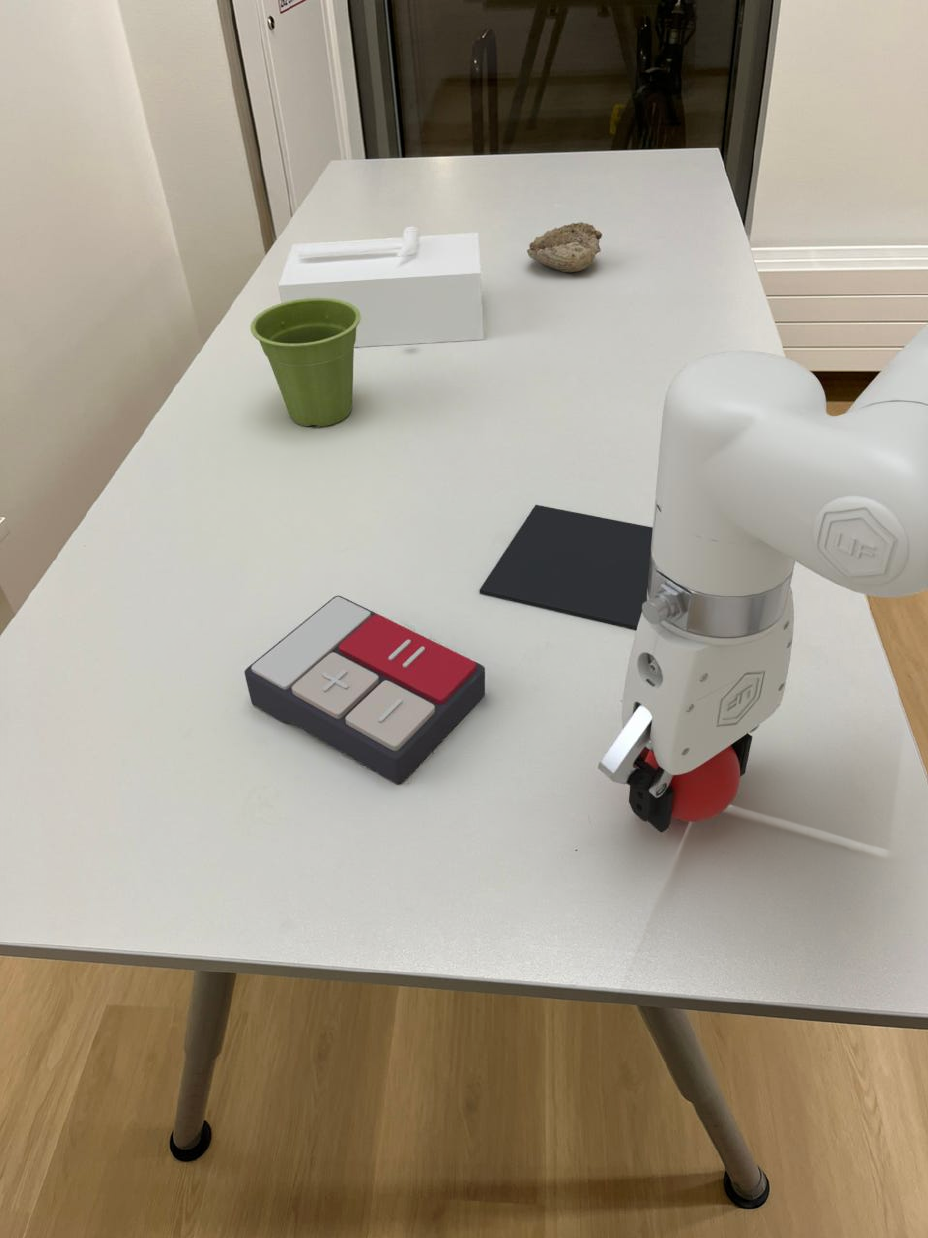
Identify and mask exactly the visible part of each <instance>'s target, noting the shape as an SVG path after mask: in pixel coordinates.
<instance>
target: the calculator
mask: <svg viewBox="0 0 928 1238" xmlns="http://www.w3.org/2000/svg"><path fill="white" fill-rule="evenodd" d="M244 678H245V682H246V684H247V685H246V686H247V689H248V694H249V697H250V703H251V704H252V705H253V706H254V707H255V708H258V709H260V710H261V711H263V712H264V713H266V714H268V715H270V716H271V717H273V718H275V719H277V720H278V721H280V722H282V723H284V724H293V725H295V726H297V727H298V728H300V729H301V730H303V731H305V732H306V733H308V734H310V735H312V736H313V737H315V738H317V739H319V740H320V741H322V742H324V743H325V744H327V745H329V746H331V747H332V748H334V749H336V750H338V752H341V753H343V754H345V755H346V756H348V757H349V758H351V759H353V760H355V761H357V762H358V763H360V764H361V765H363V766H365V767H367V768H368V769H370V770H372V771H374V772H375V773H377V774H379V775H381V776H382V777H384V778H386V779H387V780H389V781H391V782H393V783H394V784H397V785H399V784H402V783H404V782H405V781H407V779H408V778H409V776H411V775H412V774H413V773H414V772H415V770H416V769H417V768H418V767H419V766H420V765H421V764H422V763H423V761H425V759H426V758H427V757H428V756H429V755H430V754H431V753H432V752H433V751H434V750H436V748H437V747H438V746H439V745H440V744H441V742H443V741H444V739H445V738H446V737H447V736H449V734H450V733H451V732H452V731H453V730H454V729H455V727H456V726H457V725H459V723H460V722H461V721H462V720H463V719H464V718H465V717H466V716H467V715H468V714H469V713H470V712H471V710H473V709H474V708H475V706H477V704H478V703H479V702H480V701H481V700H482V699H483V698H484V697H485V695H486V668H485V666H484V665H482V664H481V663H478V662H477V661H475V660H472V659H470V658H469V657H467V656H464V655H463V654H460V653H458V652H456V651H454V650H452V649H450V648H448V647H446V646H444V645H442V644H440V643H437V642H436V641H433V640H432V639H429V638H428V637H425V636H423V635H421V634H419V633H417V632H415V631H414V630H411V629H410V628H407V627H405V626H403V625H402V624H399V623H397V622H395V621H393V620H391V619H389V618H387V617H385V616H383V615H381V614H379V613H377V612H375V611H373V610H370V609H368V608H366V607H364V606H362V605H361V604H358V603H356V602H354V601H352V600H350V599H348V598H346V597H344V596H341V595H336V596H333V597H332V598H331V599H329V600H328V601H327V602H326V603H325V604H323V605H322V606H321V607H319V608H318V609H317V610H316V611H315V612H314V613H313V614H311V615H310V616H308V617H307V618H306V619H305V620H304V621H303V622H301V623H300V624H299V625H297V626H296V627H295V628H294V629H293V630H292V631H290V632H289V633H288V634H286V635H285V636H284V637H283V638H281V639H280V641H278V642H277V643H276V644H274V645H273V646H272V647H271V648H270V649H268V650H267V651H266V652H265V653H264V654H262V655H261V656H260V657H259V658H257V659H256V660H255V661H254V662H252V663H251V664H250V665H249V666H247V668H246V669H245V670H244Z"/></svg>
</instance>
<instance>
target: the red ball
mask: <svg viewBox="0 0 928 1238" xmlns="http://www.w3.org/2000/svg"><path fill="white" fill-rule="evenodd" d="M645 762H647V763H649V764H650V765H651V766H652V767H653V768H655V769H656V770H657V769H658V767H659V765H658V763H657V760H656V758H655V755H654V753H653V752H651V751H650V750H649V753H648V755H647V757H646V760H645ZM740 783H741V777H740V766H739V761H738V758H737V756H736V753H735V751H734V749H733V748H732V746H731V745H730V746H728V747H727V748H725V749H724V750H722V751H721V752H720V753H718V754H717V755H715V756H714V757H712V758H711V759H709V760H708V761H706V762H705V763H703V764H702V765H700V766H699V767H697V768H695V769H694V770H692V771H689V772H687V773H684V774H679V775H673V777H672V780H671V782H670V784H669V785H670V786H671V787H672V788H673V790H674V799H673V807H672V814H671V819H672V818H673V819H675V820H677V821H683V822H693V823H694V822H702V821H706V820H709V819H712V818H714V817H716V816H717V815H719V814H721V813H723V812H724V811H725V810H726V809H727V808H728V807H729V806H730V804H731V803H732V802H733V800H734V798H735V797H736V795H737V793H738V789H739V787H740Z"/></svg>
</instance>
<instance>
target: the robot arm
mask: <svg viewBox="0 0 928 1238" xmlns="http://www.w3.org/2000/svg"><path fill="white" fill-rule="evenodd" d="M660 428H661V430H660V440H659V451H658V463H657V475H656V487H655V499H654V500H655V501H654V510H653V521H652V527H653V531H652V543H651V554H650V565H649V577H648V589H647V601H646V602H644V603H643V604H642V613H641V617H640V620H639V623H638V626H637V630H636V631H635V634H634V637H633V642H632V644H631V645H632V646H631V650H630V655H629V659H628V664H627V670H626V674H625V681H624V687H623V696H622V705H621V706H622V707H621V726H622V727H621V728H622V729H621V731H620V732H619V733H618V735H617V737H616V738H615V739H614V741H613V742H612V744H611V745H610V747H609V748H608V749H607V751H606V752H605V754H604V755H603V756H602V758H601V760H600V761H599V762H598V764H597V768H598V770H600V772H602V773H603V774H604V775H605V776H606V777H607V778H608V779H609V780H610V781H612V782H614V783H618V784H621V785H623V786H624V785H628V786H629V793H628V803H629V805H630V808H631V810H632V812H633V813H634V814H635V815H636V816H637V817H638V818H639V819H640V820H641V821H643V822H648V823H649V824H650V825H651V826H653V827H654V828H655V829H656V830H657V831H658V832H660V833H664V832H666V831H667V830H669V829H670V826H671V820H672V817H671V814H672V807H673V799H674V790H673V788H672V787H671V786H670V785H669V784H670V782H671V780H672V777H673V775H679V774H684V773H687V772H689V771H692V770H694V769H695V768H697V767H699V766H700V765H702V764H703V763H705V762H706V761H708V760H709V759H711V758H712V757H714V756H715V755H717V754H718V753H720V752H721V751H722V750H724V749H725V748H727V747H728V746H730V745H731V746H732V748H733V749H734V751H735V753H736V756H737V758H738V761H739V766H740V778H741V777H742V776H744V775H745V774H746V771H747V765H748V761H749V756H750V752H751V751H750V750H751V746H752V741H753V735H751V733H754V732H755V731H756V730H757V729H758V728H759V727H760V725H761V724H762V723H764V722H765V721H766V720H768V719H769V718H770V717H771V716H772V715H774V713H775V712H777V710H778V709H779V707H780V706H781V704H782V701H783V698H784V694H785V690H786V685H787V679H788V674H789V669H790V662H791V655H792V648H793V647H792V646H793V636H794V622H795V613H794V612H795V608H794V606H795V605H794V597H793V590H792V587H791V583H792V579H793V573H794V569H795V565H796V563H797V564H799V565H801V566H802V567H804V568H806V569H807V570H810V571H812V572H813V573H815V574H817V575H819V576H820V577H822V578H824V579H825V580H827V581H830V582H831V583H833V584H835V585H837V586H840V587H843V588H845V589H847V590H849V591H852V592H854V593H858V594H862V595H867V596H870V597H874V598H883V599H884V598H885V599H895V598H905V597H910V596H914V595H917V594H920V593H922V592H925V591H926V590H928V322H927V323H926V324H925V325H924V326H923V327H922V328H921V329H920V330H919V331H918V332H917V333H916V334H915V335H914V336H913V337H912V338H911V339H910V340H909V341H908V342H907V343H906V344H905V345H904V346H903V347H902V348H901V350H899V351H898V353H896V355H895V356H894V357H893V358H892V359H891V360H890V361H889V362H888V363H887V364H886V365H885V366H884V367H883V368H882V370H881V371H880V372H879V373H878V374H877V375H876V376H875V378H874V379H873V380H872V381H871V382H870V383H869V384H868V386H867V387H866V388H865V389H864V390H863V391H862V392H861V393H860V395H858V396H857V398H856V399H855V401H854V402H853V403H852V404H851V406H850V407H849V408H848V410H846V412H844V413H841V414H839V415H830V414H829V413H828V412H827V398H826V394H825V390H824V388H823V386H822V384H821V382H820V380H819V379H818V378H817V377H816V375H815V374H814V373H813V372H812V371H811V370H809V369H808V368H806V367H805V366H803V365H802V364H801V363H799V362H797V361H795V360H792V359H790V358H788V357H785V356H781V355H778V354H775V353H771V352H770V353H769V352H765V351H755V350H730V351H720V352H713V353H711V354H707V355H704V356H702V357H698V358H697V359H694V360H693V361H691V362H689V363H688V364H686V365H684V366H683V367H682V368H681V369H680V370H679V371H678V372H677V373H675V375H674V377H673V378H672V380H671V381H670V383H669V385H668V386H667V390H666V393H665V396H664V403H663V408H662V418H661V427H660ZM649 750H650V751H651V752H653V753H654V755H655V758H656V760H657V763H658V765H659V767H658V769H657V770H656V769H655V768H653V767H652V766H651V765H650V764H649V763H647V762H645V760H646V757H647V755H648V753H649Z"/></svg>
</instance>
